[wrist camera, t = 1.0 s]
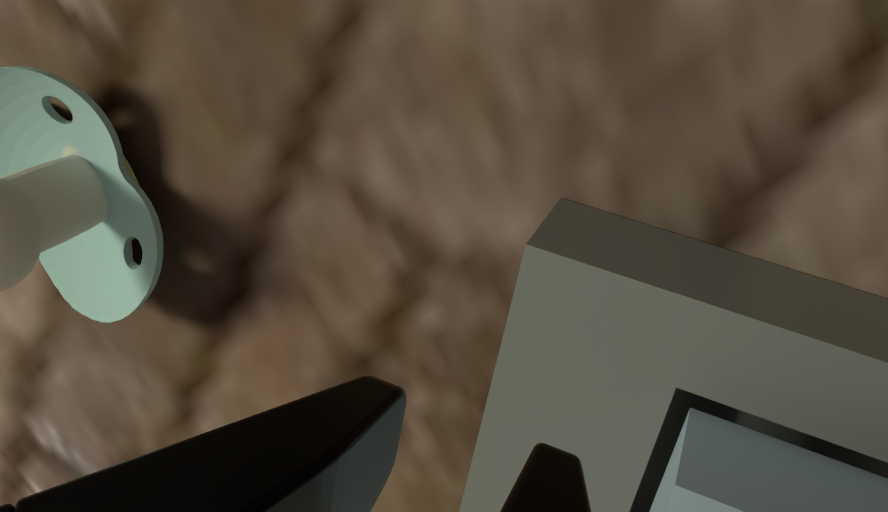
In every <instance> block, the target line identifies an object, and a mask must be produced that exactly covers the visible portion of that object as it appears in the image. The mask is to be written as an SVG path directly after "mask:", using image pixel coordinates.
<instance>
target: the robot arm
mask: <svg viewBox="0 0 888 512" xmlns="http://www.w3.org/2000/svg"><path fill="white" fill-rule="evenodd" d="M405 407H406V393H405V391H404V390H403V388H401V387H399V386H396V385H394V384H391V383H389V382H386V381H384V380H381V379H379V378H376V377H373V376H363V377H359V378H356V379H354V380H351V381H348V382H345V383H342V384H340V385H337V386H334V387H331V388H329V389H326V390H323V391H320V392H317V393H315V394H312V395H309V396H306V397H303V398H301V399H298V400H295V401H292V402H290V403H287V404H284V405H281V406H278V407H276V408H273V409H270V410H267V411H264V412H262V413H259V414H256V415H253V416H251V417H248V418H245V419H242V420H239V421H237V422H234V423H231V424H228V425H225V426H223V427H220V428H217V429H214V430H211V431H209V432H206V433H203V434H200V435H198V436H195V437H192V438H189V439H186V440H184V441H181V442H178V443H175V444H172V445H170V446H167V447H164V448H161V449H159V450H156V451H153V452H150V453H147V454H145V455H142V456H139V457H136V458H133V459H131V460H128V461H125V462H122V463H120V464H117V465H114V466H111V467H108V468H106V469H103V470H100V471H97V472H94V473H92V474H89V475H86V476H83V477H81V478H78V479H75V480H72V481H69V482H67V483H64V484H61V485H58V486H55V487H53V488H50V489H47V490H44V491H42V492H39V493H36V494H33V495H30V496H28V497H25V498H22V499H20V500H19V501H18V502H17V503H16V505H15V508H14V506H13V505H11V504H4V505H2V506H0V512H370V511H371V509H372V507H373V506H374V504H375V502H376V500H377V498H378V496H379V494H380V493H381V491H382V489H383V487H384V485H385V483H386V481H387V479H388V477H389V475H390V473H391V470H392V467H393V465H394V461H395V458H396V454H397V448H398V443H399V438H400V433H401V428H402V423H403V417H404V412H405ZM500 512H591V508H590V503H589V498H588V493H587V488H586V483H585V478H584V473H583V468H582V464H581V461H580V459H579V458H578V457H577V456H576V455H574V454H572V453H569V452H566V451H564V450H561V449H559V448H556V447H554V446H551V445H548V444H546V443H538V444H537V445H535V446H534V448H533V450H532V451H531V453H530V455H529V457H528V459H527V461H526V463H525V465H524V467H523V469H522V471H521V472H520V474H519V476H518V478H517V480H516V482H515V484H514V486H513V488H512V490H511V492H510V494H509V495H508V497H507V499H506V501H505V503H504V505H503V507H502V509H501V511H500Z"/></svg>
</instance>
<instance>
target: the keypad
mask: <svg viewBox="0 0 888 512" xmlns="http://www.w3.org/2000/svg"><path fill="white" fill-rule="evenodd" d="M690 408H693V409H696V410H699V411H701V412H704V413H707V414H710V415H712V416H715V417H718V418H721V419H724V420H726V421H729V422H732V423H735V424H737V425H740V426H743V427H746V428H749V429H751V430H754V431H757V432H760V433H762V434H765V435H768V436H771V437H773V438H776V439H779V440H782V441H785V442H787V443H790V444H793V445H796V446H798V447H801V448H804V449H807V450H810V451H812V452H815V453H818V454H821V455H823V456H826V457H829V458H832V459H835V460H837V461H840V462H843V463H846V464H848V465H851V466H854V467H857V468H859V469H862V470H865V471H868V472H871V473H873V474H876V475H879V476H882V477H884V478H887V479H888V299H886V298H883V297H880V296H876V295H873V294H870V293H867V292H863V291H860V290H857V289H854V288H851V287H847V286H844V285H841V284H838V283H834V282H831V281H828V280H825V279H821V278H818V277H815V276H812V275H809V274H805V273H802V272H799V271H796V270H792V269H789V268H786V267H783V266H779V265H776V264H773V263H770V262H767V261H763V260H760V259H757V258H754V257H750V256H747V255H744V254H741V253H737V252H734V251H731V250H728V249H725V248H721V247H718V246H715V245H712V244H708V243H705V242H702V241H699V240H695V239H692V238H689V237H686V236H683V235H679V234H676V233H673V232H670V231H666V230H663V229H660V228H657V227H653V226H650V225H647V224H644V223H640V222H637V221H634V220H631V219H628V218H624V217H621V216H618V215H615V214H611V213H608V212H605V211H602V210H598V209H595V208H592V207H589V206H586V205H582V204H579V203H576V202H573V201H569V200H566V199H563V198H560V200H559V201H558V202H557V204H556V205H555V206H554V208H553V209H552V210H551V212H550V213H549V214H548V216H547V217H546V218H545V220H544V221H543V222H542V224H541V225H540V226H539V228H538V229H537V230H536V232H535V233H534V234H533V236H532V237H531V238H530V240H529V241H528V242H527V244H526V246H525V250H524V254H523V258H522V262H521V266H520V270H519V274H518V278H517V282H516V286H515V290H514V294H513V298H512V302H511V306H510V310H509V314H508V318H507V322H506V326H505V330H504V334H503V338H502V342H501V346H500V350H499V354H498V358H497V362H496V366H495V370H494V374H493V378H492V382H491V386H490V390H489V394H488V398H487V402H486V406H485V410H484V414H483V418H482V422H481V426H480V430H479V434H478V438H477V442H476V446H475V450H474V454H473V458H472V462H471V466H470V470H469V474H468V478H467V482H466V486H465V490H464V494H463V498H462V502H461V506H460V510H459V512H500V511H501V509H502V507H503V505H504V503H505V501H506V499H507V497H508V495H509V494H510V492H511V490H512V488H513V486H514V484H515V482H516V480H517V478H518V476H519V474H520V472H521V471H522V469H523V467H524V465H525V463H526V461H527V459H528V457H529V455H530V453H531V451H532V450H533V448H534V446H535V445H537V444H538V443H546V444H548V445H551V446H554V447H556V448H559V449H561V450H564V451H566V452H569V453H572V454H574V455H576V456H577V457H578V458H579V459H580V461H581V464H582V468H583V473H584V478H585V483H586V488H587V493H588V498H589V503H590V508H591V512H649V511H650V509H651V506H652V503H653V501H654V498H655V496H656V493H657V491H658V488H659V486H660V483H661V481H662V478H663V475H664V473H665V470H666V468H667V465H668V463H669V460H670V458H671V455H672V453H673V450H674V447H675V445H676V442H677V440H678V437H679V435H680V432H681V430H682V427H683V425H684V422H685V419H686V417H687V414H688V412H689V409H690Z"/></svg>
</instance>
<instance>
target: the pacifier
mask: <svg viewBox="0 0 888 512" xmlns="http://www.w3.org/2000/svg"><path fill="white" fill-rule="evenodd" d="M50 96H53V97H56V98H58V99H60V100H61V101H62V102H64V103H65V104H66V105H67V106H68V108H69V109H70V111H71V113H72V116H73V120H72V121H68V120H66V119H64V118H63V117H61V116H60V115H59V114H58V113H57V112H56V111H55V110H54V109H53V107H52V105H51V103H50ZM134 238H136V239H137V240H138V241H139V242H140V244H141V247H142V253H143V256H142V261H141V264H140V265H138V264H136V263H135V262H134V260H133V250H132V242H131V241H132V240H133V239H134ZM38 258H39V260H40V261H41V263H42V265H43V267H44V269H45V270H46V272H47V273H48V274H49V276H50V278H51V280H52V282H53V283H54V285H55V286H56V287H57V289H58V290H59V291H60V293H61V295H62V296H63V298H64V299H65V300H66V301H67V302H68V303H69V304H70V305H71V306H72V307H73V309H75V310H77V311H78V312H80V313H81V314H83V315H85V316H87V317H89V318H90V319H92V320H96V321H100V322H114V321H117V320H121V319H123V318H124V317H126V316H127V315H129V314H131V313H132V312H134V311H135V310H137V309H138V308H139V307H140V306H141V305H142V304H143V303H144V302H145V301H146V300H147V298H148V297H149V295H150V294H151V292H152V291H153V289H154V287H155V285H156V283H157V280H158V278H159V275H160V271H161V267H162V261H163V234H162V229H161V226H160V222H159V218H158V215H157V213H156V211H155V209H154V207H153V205H152V203H151V201H150V200H149V198H148V197H147V195H146V194H145V192H144V191H143V189H142V188H141V187H140V186H139V184H138V181H137V179H136V176H135V174H134V172H133V170H132V168H131V167H130V165H129V163H128V161H127V160H126V158H125V156H124V155H123V152H122V147H121V144H120V141H119V139H118V136H117V133H116V131H115V129H114V127H113V126H112V124H111V122H110V120H109V119H108V117H107V116H106V115H105V113H104V112H103V110H102V109H101V108H100V107H99V106H98V104H97V103H96V102H95V101H94V100H93V99H92V98H91V97H89V96H88V95H87V94H86V93H85V92H84V91H82V90H81V89H80V88H78V87H77V86H76V85H74V84H72V83H71V82H69V81H67V80H65V79H63V78H61V77H59V76H57V75H55V74H53V73H50V72H47V71H44V70H40V69H37V68H31V67H23V66H14V67H1V68H0V291H2V290H5V289H7V288H10V287H12V286H14V285H15V284H17V283H18V282H20V281H21V280H23V279H24V278H25V277H26V276H27V275H28V274H29V272H30V271H31V270H32V269H33V267H34V266H35V264H36V262H37V260H38Z"/></svg>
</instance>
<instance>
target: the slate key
mask: <svg viewBox="0 0 888 512" xmlns="http://www.w3.org/2000/svg"><path fill="white" fill-rule="evenodd" d="M649 512H888V479H887V478H884V477H882V476H879V475H876V474H873V473H871V472H868V471H865V470H862V469H859V468H857V467H854V466H851V465H848V464H846V463H843V462H840V461H837V460H835V459H832V458H829V457H826V456H823V455H821V454H818V453H815V452H812V451H810V450H807V449H804V448H801V447H798V446H796V445H793V444H790V443H787V442H785V441H782V440H779V439H776V438H773V437H771V436H768V435H765V434H762V433H760V432H757V431H754V430H751V429H749V428H746V427H743V426H740V425H737V424H735V423H732V422H729V421H726V420H724V419H721V418H718V417H715V416H712V415H710V414H707V413H704V412H701V411H699V410H696V409H693V408H690V409H689V412H688V414H687V417H686V419H685V422H684V425H683V427H682V430H681V432H680V435H679V437H678V440H677V442H676V445H675V447H674V450H673V453H672V455H671V458H670V460H669V463H668V465H667V468H666V470H665V473H664V475H663V478H662V481H661V483H660V486H659V488H658V491H657V493H656V496H655V498H654V501H653V503H652V506H651V509H650V511H649Z"/></svg>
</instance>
